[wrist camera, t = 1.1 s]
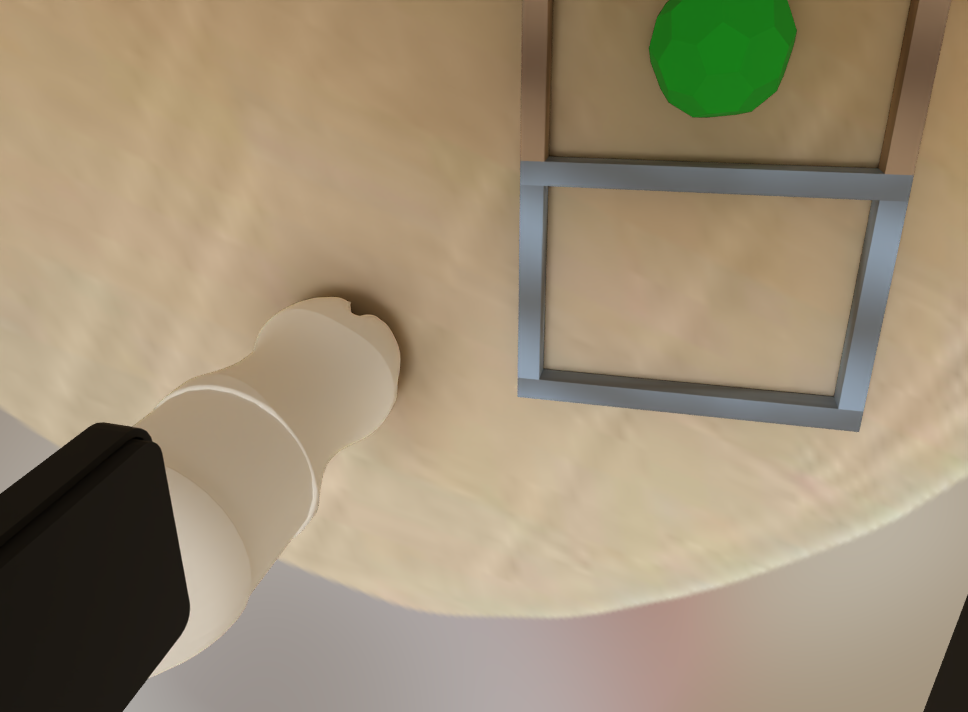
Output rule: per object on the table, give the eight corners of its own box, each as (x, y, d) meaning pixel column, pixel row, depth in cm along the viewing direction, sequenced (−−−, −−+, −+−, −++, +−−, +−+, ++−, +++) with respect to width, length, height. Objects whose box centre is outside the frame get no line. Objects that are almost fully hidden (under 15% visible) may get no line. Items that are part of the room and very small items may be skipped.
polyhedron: (628, 68, 32) (618, 79, 27) (701, -54, 29) (702, -63, 25) (735, 134, 32) (741, 154, 27) (816, 17, 29) (836, 19, 25)
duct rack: (529, -114, 30) (523, -118, 29) (969, -131, 27) (980, -137, 26) (522, 385, 38) (517, 396, 37) (854, 418, 35) (859, 432, 34)
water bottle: (438, 329, 38) (86, 780, 16) (383, 436, 42) (29, 934, 19) (309, 256, 38) (-217, 606, 16) (265, 370, 42) (-222, 788, 20)
